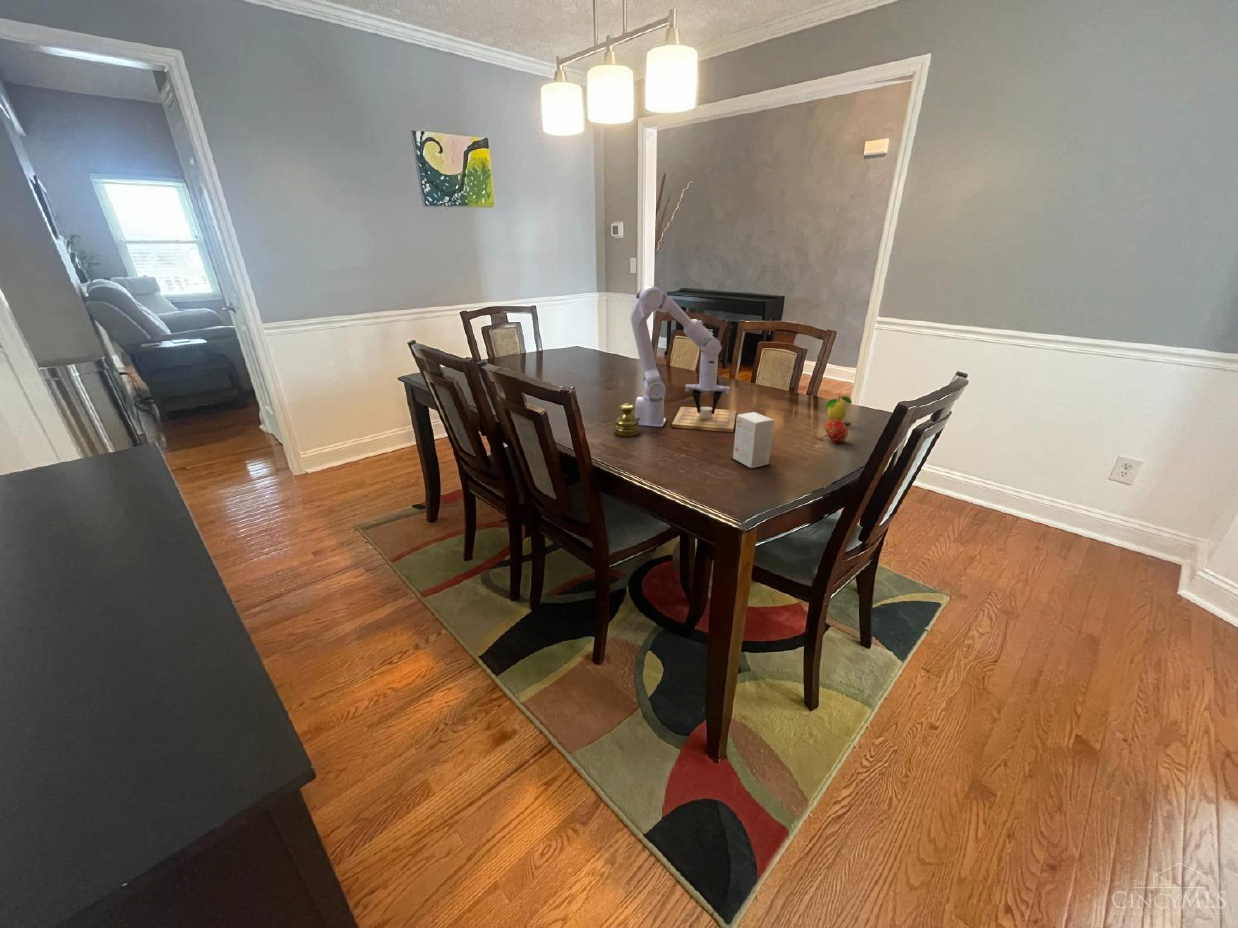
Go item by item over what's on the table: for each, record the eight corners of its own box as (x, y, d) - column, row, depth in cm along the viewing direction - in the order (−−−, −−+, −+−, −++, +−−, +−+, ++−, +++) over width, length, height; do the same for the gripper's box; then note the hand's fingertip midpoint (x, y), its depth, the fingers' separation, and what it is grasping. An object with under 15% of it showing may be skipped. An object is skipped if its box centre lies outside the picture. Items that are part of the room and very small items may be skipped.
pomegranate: (822, 451, 149) (854, 437, 143) (810, 430, 149) (841, 415, 143) (827, 446, 155) (858, 432, 148) (816, 426, 155) (846, 411, 149)
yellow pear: (848, 422, 166) (853, 393, 162) (842, 426, 162) (848, 397, 158) (828, 418, 170) (833, 390, 166) (822, 422, 166) (827, 394, 162)
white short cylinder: (698, 418, 168) (698, 409, 166) (699, 414, 172) (700, 406, 170) (711, 419, 167) (712, 410, 165) (712, 415, 170) (713, 407, 169)
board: (671, 427, 163) (671, 423, 163) (680, 409, 181) (680, 406, 180) (733, 432, 158) (733, 428, 158) (736, 413, 176) (736, 410, 175)
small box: (769, 464, 134) (774, 419, 129) (750, 469, 132) (755, 423, 127) (749, 454, 141) (754, 411, 136) (732, 458, 139) (736, 414, 133)
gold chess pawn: (612, 431, 160) (611, 401, 156) (632, 428, 163) (632, 398, 159) (621, 438, 154) (621, 408, 150) (642, 435, 157) (643, 404, 153)
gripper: (684, 374, 161) (683, 414, 167) (729, 377, 158) (726, 417, 163) (687, 370, 167) (686, 408, 173) (731, 372, 164) (727, 411, 169)
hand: (705, 412), depth 168 cm, fingers closed on white short cylinder, 4 cm apart
